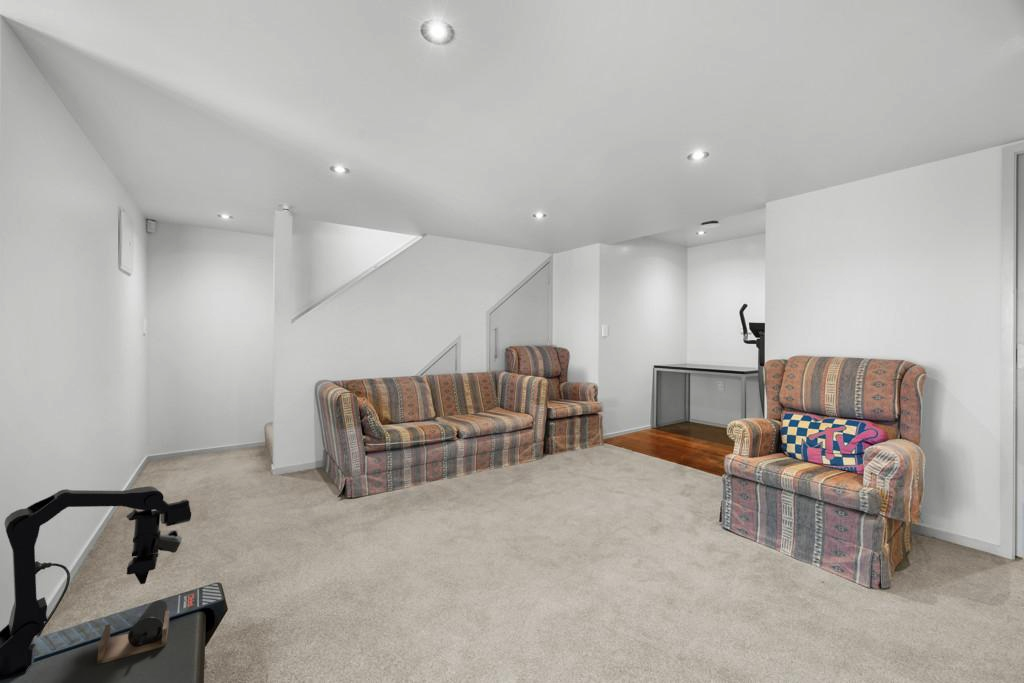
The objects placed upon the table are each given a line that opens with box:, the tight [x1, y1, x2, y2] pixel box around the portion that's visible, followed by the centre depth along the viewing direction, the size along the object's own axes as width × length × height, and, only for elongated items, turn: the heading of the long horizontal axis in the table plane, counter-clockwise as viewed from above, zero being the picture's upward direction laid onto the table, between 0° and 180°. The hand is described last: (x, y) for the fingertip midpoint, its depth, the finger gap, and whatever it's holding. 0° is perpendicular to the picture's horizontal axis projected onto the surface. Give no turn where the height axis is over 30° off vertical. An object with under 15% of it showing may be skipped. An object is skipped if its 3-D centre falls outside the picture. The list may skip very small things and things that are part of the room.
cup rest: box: [96, 609, 171, 665], centre depth 120 cm, size 14×10×5 cm
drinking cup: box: [127, 600, 168, 647], centre depth 122 cm, size 8×8×20 cm
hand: (143, 583), depth 129 cm, fingers closed
